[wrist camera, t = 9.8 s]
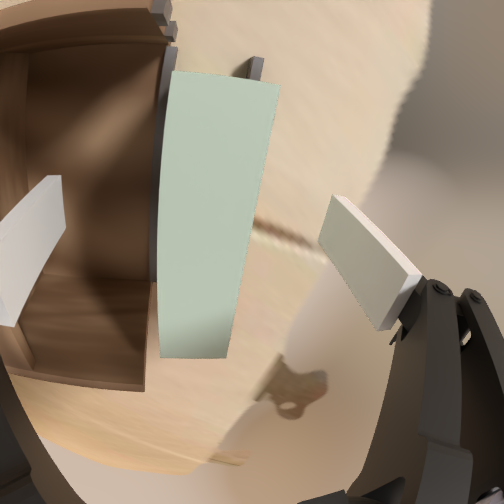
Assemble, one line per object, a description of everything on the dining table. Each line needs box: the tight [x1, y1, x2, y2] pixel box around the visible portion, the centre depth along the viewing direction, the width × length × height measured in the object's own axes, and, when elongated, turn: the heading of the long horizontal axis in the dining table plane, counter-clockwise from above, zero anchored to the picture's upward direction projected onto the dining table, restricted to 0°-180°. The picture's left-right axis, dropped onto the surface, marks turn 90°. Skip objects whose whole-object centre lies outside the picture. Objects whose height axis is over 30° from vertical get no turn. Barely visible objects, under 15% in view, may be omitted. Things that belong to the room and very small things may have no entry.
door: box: [157, 71, 281, 359], centre depth 15 cm, size 12×3×10 cm, turn 170°
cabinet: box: [0, 0, 264, 392], centre depth 13 cm, size 18×16×10 cm
